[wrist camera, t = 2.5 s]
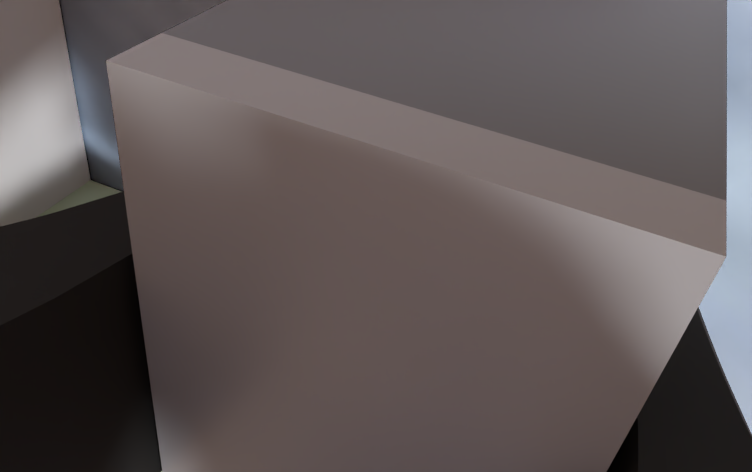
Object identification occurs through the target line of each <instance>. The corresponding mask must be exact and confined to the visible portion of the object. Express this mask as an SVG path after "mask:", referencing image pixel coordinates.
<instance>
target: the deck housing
mask: <svg viewBox="0 0 752 472" xmlns="http://www.w3.org/2000/svg"><path fill="white" fill-rule="evenodd" d="M120 192H122V191H119V190H116V189H113V188H111V187H108V186H105V185H103V184H100V183H97V182H94V181H92V180H90V174H89V168H88V163H87V157H86V151H85V146H84V140H83V134H82V129H81V123H80V117H79V112H78V106H77V100H76V95H75V89H74V83H73V78H72V72H71V66H70V60H69V55H68V49H67V43H66V38H65V32H64V26H63V21H62V15H61V9H60V4H59V0H0V226H5V225H9V224H13V223H16V222H20V221H24V220H28V219H32V218H36V217H40V216H43V215H47V214H51V213H55V212H58V211H61V210H64V209H68V208H71V207H74V206H77V205H81V204H84V203H87V202H90V201H94V200H97V199H100V198H103V197H107V196H110V195H113V194H117V193H120ZM161 472H162V471H161Z"/></svg>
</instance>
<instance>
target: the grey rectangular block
mask: <svg viewBox="0 0 752 472" xmlns="http://www.w3.org/2000/svg"><path fill="white" fill-rule="evenodd" d="M106 65H107V73H108V80H109V87H110V94H111V102H112V109H113V116H114V123H115V131H116V138H117V145H118V152H119V160H120V167H121V174H122V182H123V189H124V196H125V203H126V211H127V218H128V225H129V232H130V240H131V247H132V254H133V262H134V269H135V276H136V283H137V291H138V298H139V305H140V312H141V320H142V327H143V334H144V342H145V349H146V356H147V363H148V371H149V378H150V385H151V392H152V400H153V407H154V414H155V421H156V429H157V436H158V443H159V451H160V458H161V465H162V472H607V470H608V468H609V466H610V465H611V463H612V461H613V459H614V457H615V456H616V454H617V452H618V450H619V448H620V447H621V445H622V443H623V441H624V439H625V438H626V436H627V434H628V432H629V430H630V429H631V427H632V425H633V423H634V422H635V420H636V418H637V416H638V414H639V413H640V411H641V409H642V407H643V405H644V404H645V402H646V400H647V398H648V396H649V395H650V393H651V391H652V389H653V387H654V386H655V384H656V382H657V380H658V378H659V377H660V375H661V373H662V371H663V369H664V368H665V366H666V364H667V362H668V360H669V359H670V357H671V355H672V353H673V352H674V350H675V348H676V346H677V344H678V343H679V341H680V339H681V337H682V335H683V334H684V332H685V330H686V328H687V326H688V325H689V323H690V321H691V319H692V317H693V316H694V314H695V312H696V310H697V308H698V307H699V305H700V303H701V301H702V299H703V298H704V296H705V294H706V292H707V290H708V289H709V287H710V285H711V283H712V282H713V280H714V278H715V276H716V274H717V273H718V271H719V269H720V267H721V265H722V264H723V262H724V260H725V258H726V179H727V0H227V1H225V2H223V3H221V4H219V5H217V6H215V7H213V8H211V9H209V10H207V11H205V12H203V13H201V14H199V15H197V16H195V17H193V18H191V19H188V20H186V21H184V22H182V23H180V24H178V25H176V26H174V27H172V28H170V29H168V30H166V31H164V32H162V33H160V34H158V35H156V36H154V37H152V38H150V39H148V40H146V41H144V42H142V43H140V44H138V45H136V46H134V47H132V48H130V49H128V50H126V51H124V52H122V53H120V54H118V55H116V56H114V57H112V58H110V59H108V60H106Z"/></svg>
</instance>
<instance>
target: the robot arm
mask: <svg viewBox="0 0 752 472" xmlns="http://www.w3.org/2000/svg"><path fill="white" fill-rule="evenodd" d="M161 471H162V465H161V458H160V451H159V443H158V436H157V429H156V421H155V414H154V407H153V400H152V392H151V385H150V378H149V371H148V363H147V356H146V349H145V342H144V334H143V327H142V320H141V312H140V305H139V298H138V291H137V283H136V276H135V269H134V262H133V254H132V247H131V240H130V232H129V225H128V218H127V211H126V203H125V196H124V191H123V192H120V193H117V194H113V195H110V196H107V197H103V198H100V199H97V200H94V201H90V202H87V203H84V204H81V205H77V206H74V207H71V208H68V209H64V210H61V211H58V212H55V213H51V214H47V215H43V216H40V217H36V218H32V219H28V220H24V221H20V222H16V223H13V224H9V225H5V226H0V472H161ZM607 472H752V434H751V432H750V430H749V428H748V425H747V423H746V421H745V419H744V416H743V414H742V412H741V410H740V408H739V405H738V403H737V401H736V399H735V396H734V394H733V392H732V390H731V388H730V385H729V383H728V381H727V379H726V376H725V374H724V371H723V369H722V367H721V364H720V362H719V359H718V357H717V354H716V352H715V349H714V347H713V344H712V342H711V339H710V336H709V334H708V331H707V329H706V326H705V323H704V321H703V318H702V315H701V313H700V310H699V307H698V308H697V310H696V312H695V314H694V316H693V317H692V319H691V321H690V323H689V325H688V326H687V328H686V330H685V332H684V334H683V335H682V337H681V339H680V341H679V343H678V344H677V346H676V348H675V350H674V352H673V353H672V355H671V357H670V359H669V360H668V362H667V364H666V366H665V368H664V369H663V371H662V373H661V375H660V377H659V378H658V380H657V382H656V384H655V386H654V387H653V389H652V391H651V393H650V395H649V396H648V398H647V400H646V402H645V404H644V405H643V407H642V409H641V411H640V413H639V414H638V416H637V418H636V420H635V422H634V423H633V425H632V427H631V429H630V430H629V432H628V434H627V436H626V438H625V439H624V441H623V443H622V445H621V447H620V448H619V450H618V452H617V454H616V456H615V457H614V459H613V461H612V463H611V465H610V466H609V468H608V470H607Z"/></svg>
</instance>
